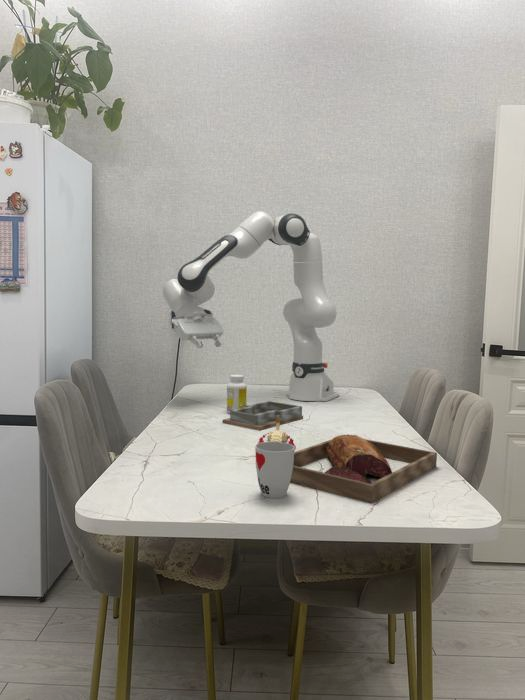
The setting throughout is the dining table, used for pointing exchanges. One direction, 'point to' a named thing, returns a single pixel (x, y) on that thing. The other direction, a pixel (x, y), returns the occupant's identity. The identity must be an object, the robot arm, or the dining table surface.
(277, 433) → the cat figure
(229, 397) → the supplement bottle
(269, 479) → the cup
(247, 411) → the keyhole dock
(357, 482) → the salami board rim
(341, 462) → the cured meat
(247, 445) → the dining table surface
